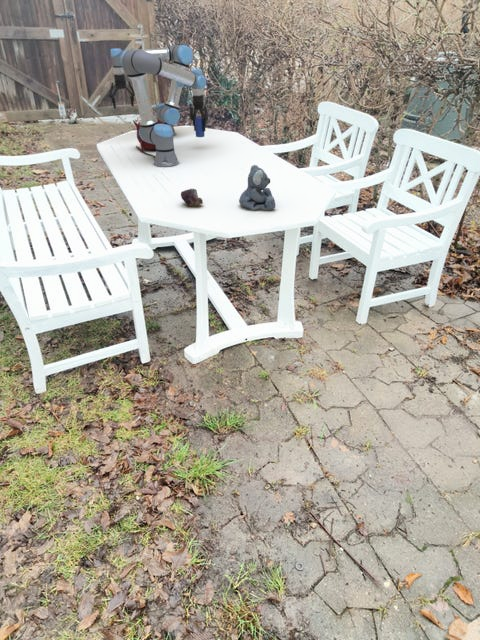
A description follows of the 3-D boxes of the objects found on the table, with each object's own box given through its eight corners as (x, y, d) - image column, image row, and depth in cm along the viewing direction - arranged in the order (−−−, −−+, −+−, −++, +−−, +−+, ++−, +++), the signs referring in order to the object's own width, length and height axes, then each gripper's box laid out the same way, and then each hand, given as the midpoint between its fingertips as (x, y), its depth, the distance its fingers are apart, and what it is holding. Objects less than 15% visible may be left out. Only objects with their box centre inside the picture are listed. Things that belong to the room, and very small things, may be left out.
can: (203, 137, 318) (202, 118, 311) (194, 137, 318) (193, 118, 311) (205, 135, 323) (204, 116, 316) (196, 135, 323) (195, 116, 316)
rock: (196, 202, 238) (178, 205, 233) (194, 185, 234) (176, 188, 230) (205, 205, 228) (187, 208, 224) (203, 188, 224) (185, 191, 220)
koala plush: (276, 211, 223) (277, 171, 212) (240, 212, 222) (240, 172, 211) (271, 199, 237) (272, 161, 226) (237, 200, 236) (237, 162, 225)
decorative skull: (136, 123, 331) (129, 120, 308) (167, 116, 330) (163, 112, 307) (144, 153, 338) (138, 152, 315) (174, 146, 337) (171, 145, 314)
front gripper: (212, 95, 304) (214, 131, 317) (189, 93, 312) (191, 128, 325) (207, 96, 299) (208, 133, 312) (183, 94, 306) (185, 130, 319)
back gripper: (103, 75, 307) (109, 109, 319) (137, 73, 319) (141, 106, 331) (100, 74, 313) (105, 108, 325) (133, 72, 324) (137, 104, 336)
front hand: (199, 130), depth 318 cm, fingers closed on can, 6 cm apart
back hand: (123, 107), depth 328 cm, fingers open, 13 cm apart
